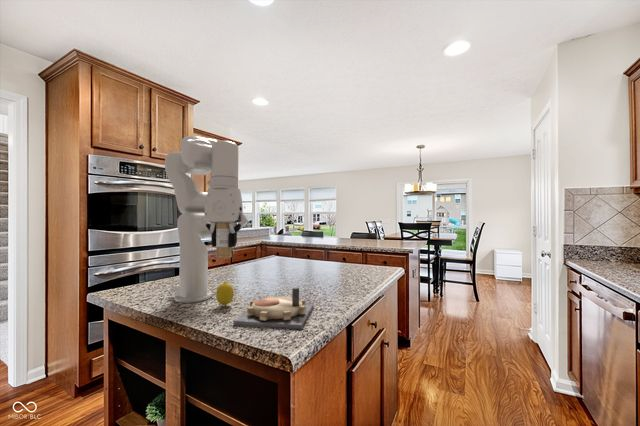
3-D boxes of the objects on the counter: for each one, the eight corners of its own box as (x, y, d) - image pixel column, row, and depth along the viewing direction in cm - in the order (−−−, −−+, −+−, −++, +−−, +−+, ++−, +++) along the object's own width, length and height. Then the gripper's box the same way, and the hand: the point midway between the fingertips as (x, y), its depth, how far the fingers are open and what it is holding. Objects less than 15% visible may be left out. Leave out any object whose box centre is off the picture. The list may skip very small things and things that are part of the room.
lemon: (225, 309, 89) (225, 284, 89) (212, 307, 91) (212, 283, 91) (237, 304, 94) (237, 281, 94) (224, 302, 96) (224, 279, 97)
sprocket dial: (265, 299, 95) (265, 279, 95) (314, 304, 89) (314, 282, 90) (234, 316, 78) (235, 291, 78) (292, 324, 73) (292, 297, 73)
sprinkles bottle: (234, 256, 83) (234, 211, 83) (228, 258, 78) (229, 211, 79) (219, 256, 83) (219, 211, 83) (212, 258, 79) (213, 211, 79)
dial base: (233, 325, 76) (233, 320, 76) (258, 304, 95) (258, 300, 95) (301, 329, 73) (301, 324, 73) (313, 307, 92) (313, 303, 92)
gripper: (190, 183, 79) (189, 247, 79) (246, 182, 76) (245, 248, 76) (205, 186, 86) (204, 245, 86) (257, 185, 84) (256, 246, 83)
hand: (224, 246), depth 81 cm, fingers closed on sprinkles bottle, 4 cm apart
